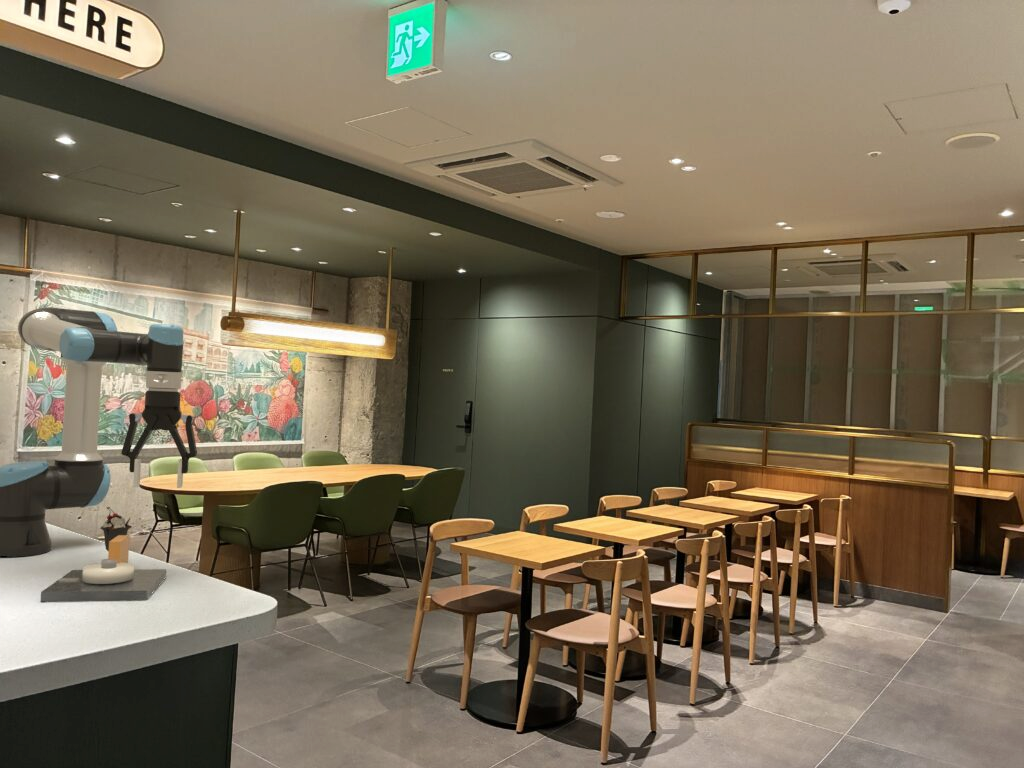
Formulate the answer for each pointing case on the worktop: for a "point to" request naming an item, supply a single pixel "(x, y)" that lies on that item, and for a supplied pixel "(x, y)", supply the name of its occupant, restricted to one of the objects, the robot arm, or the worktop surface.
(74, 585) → the panel
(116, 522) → the sundae
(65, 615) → the worktop surface
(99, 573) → the dial
